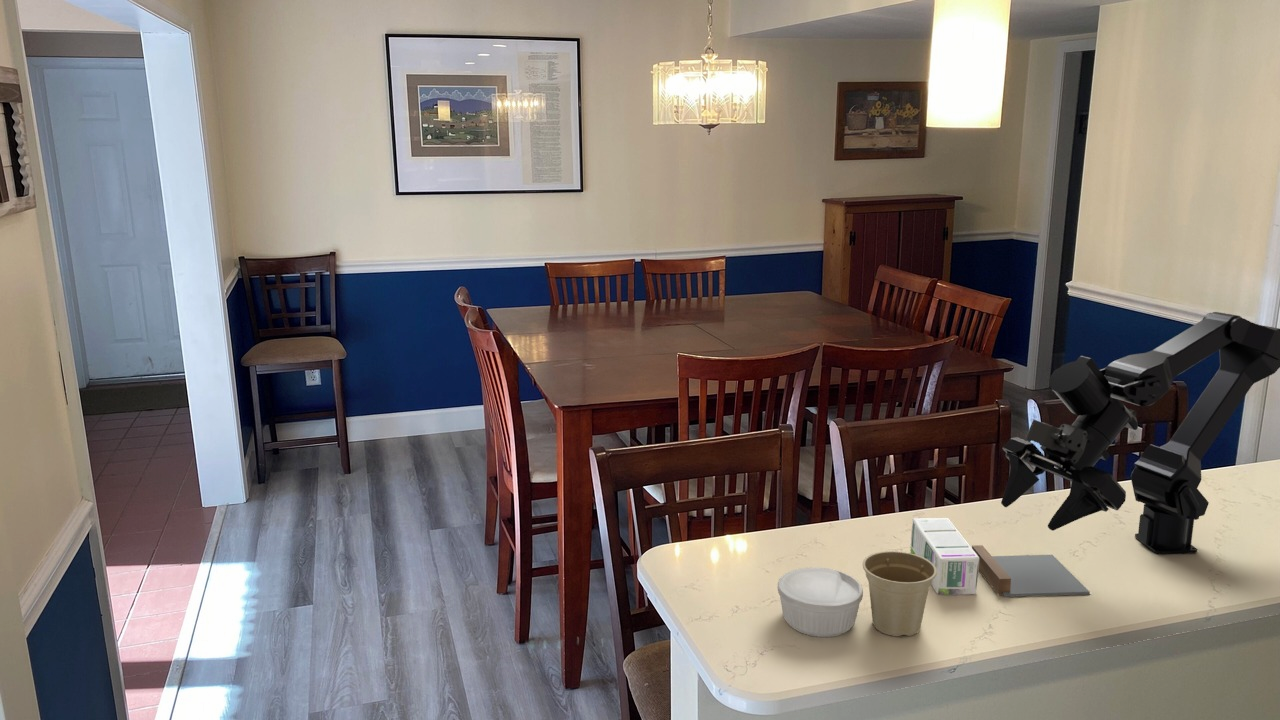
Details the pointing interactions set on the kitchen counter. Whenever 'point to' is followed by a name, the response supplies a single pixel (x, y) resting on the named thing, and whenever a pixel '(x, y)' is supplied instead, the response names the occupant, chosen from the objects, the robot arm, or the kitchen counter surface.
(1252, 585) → the kitchen counter surface
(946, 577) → the syrup box
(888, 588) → the flower pot
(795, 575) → the ramekin
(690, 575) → the kitchen counter surface
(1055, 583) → the seat mat
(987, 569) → the stop block
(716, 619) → the kitchen counter surface
